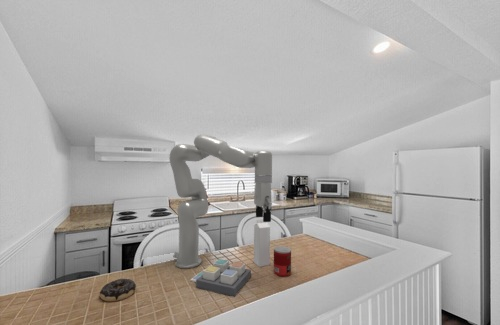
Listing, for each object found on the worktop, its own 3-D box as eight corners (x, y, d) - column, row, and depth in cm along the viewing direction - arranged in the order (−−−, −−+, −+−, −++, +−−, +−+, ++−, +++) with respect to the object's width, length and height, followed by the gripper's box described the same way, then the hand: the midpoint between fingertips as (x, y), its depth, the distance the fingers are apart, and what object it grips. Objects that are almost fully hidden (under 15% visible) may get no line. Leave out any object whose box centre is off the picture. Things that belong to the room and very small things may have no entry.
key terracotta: (229, 274, 96) (229, 265, 96) (234, 269, 101) (234, 261, 101) (240, 276, 94) (240, 267, 94) (245, 271, 99) (245, 263, 99)
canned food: (290, 277, 99) (291, 252, 100) (272, 276, 101) (272, 251, 101) (291, 270, 107) (291, 246, 107) (274, 268, 109) (274, 245, 109)
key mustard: (203, 278, 92) (203, 270, 92) (209, 273, 96) (209, 265, 96) (213, 281, 90) (214, 272, 90) (220, 275, 94) (220, 267, 95)
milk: (253, 262, 115) (253, 219, 116) (264, 260, 118) (264, 218, 119) (259, 267, 110) (259, 221, 111) (270, 265, 113) (270, 220, 113)
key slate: (220, 282, 89) (220, 273, 89) (226, 277, 93) (226, 268, 93) (232, 285, 87) (232, 276, 87) (237, 279, 92) (237, 270, 92)
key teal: (213, 270, 99) (213, 262, 99) (218, 266, 104) (219, 258, 104) (223, 272, 97) (223, 264, 97) (228, 268, 102) (228, 260, 102)
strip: (190, 281, 96) (190, 279, 96) (204, 270, 106) (204, 268, 106) (197, 282, 94) (197, 280, 94) (211, 271, 105) (211, 269, 105)
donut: (112, 286, 91) (113, 276, 91) (141, 287, 91) (142, 277, 91) (92, 302, 80) (93, 291, 80) (125, 303, 80) (126, 292, 80)
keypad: (195, 287, 90) (196, 279, 91) (217, 270, 106) (217, 263, 106) (234, 296, 84) (234, 288, 84) (250, 276, 100) (250, 269, 100)
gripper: (249, 178, 106) (249, 215, 105) (261, 180, 89) (261, 224, 88) (264, 178, 108) (264, 214, 107) (279, 180, 91) (279, 223, 91)
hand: (263, 219), depth 98 cm, fingers open, 9 cm apart
